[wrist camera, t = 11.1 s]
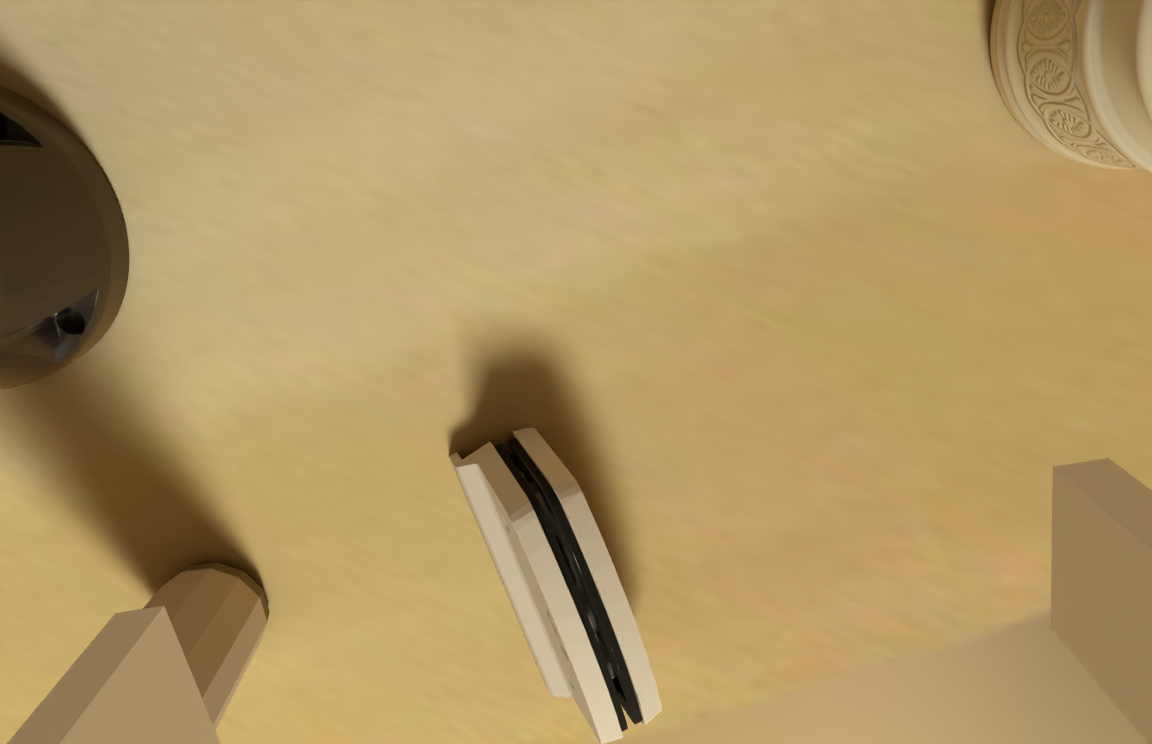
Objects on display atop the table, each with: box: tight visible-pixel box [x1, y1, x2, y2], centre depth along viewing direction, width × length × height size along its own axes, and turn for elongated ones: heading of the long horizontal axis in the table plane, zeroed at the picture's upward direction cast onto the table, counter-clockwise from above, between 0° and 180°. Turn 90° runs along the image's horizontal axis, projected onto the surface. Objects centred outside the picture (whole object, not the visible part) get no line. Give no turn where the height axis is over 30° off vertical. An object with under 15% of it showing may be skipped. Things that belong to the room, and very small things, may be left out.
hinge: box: [449, 428, 662, 744], centre depth 45 cm, size 17×5×10 cm, turn 18°
